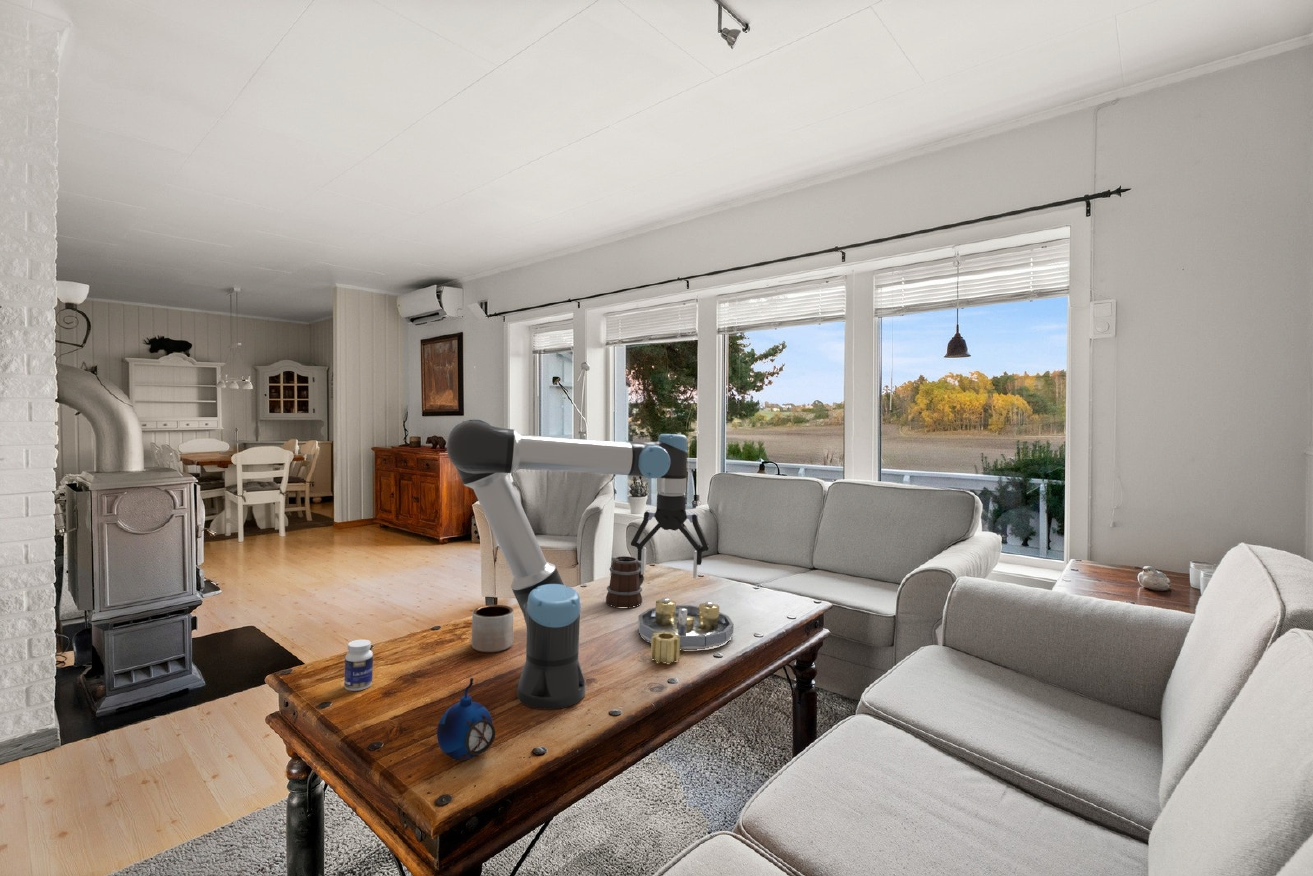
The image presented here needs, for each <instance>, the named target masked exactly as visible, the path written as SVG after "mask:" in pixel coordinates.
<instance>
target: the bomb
mask: <svg viewBox="0 0 1313 876" xmlns="http://www.w3.org/2000/svg"><path fill="white" fill-rule="evenodd" d="M469 680H470V681H469V684H468V686H466V687H465V690H464V695H462V696H461V697H460V698H459V701H458V702H457V703H455V704H453V705H452V706H450V707H449V708H448V709H447V710H446V711H444V713H443V715H442V716H441V717H440V720H439V722H438V724H437V728H436V729H437V730H436V739H437V742H438V746H439V748H440V750H441V751H442V752H443V754H445V755H446V756H447V757H449V758H452V759H453V760H457V761H458V760H459V761H465V760H466V761H467V760H469V759H473V758H475V757H477V756H479V755H481V754H483V753H485V752H486V751H487V750H488V749H489V748H490V747H491V746H492V744H493V743H494V741H495V739H496V732H497V731H496V729H495V726H494V723H493V718H492V715H491V713H490V712H489V710H488V709H487V708H486V706H484V705H483V704H482V703H479V702H478V701H473V700H472V699H473V698H472V696H471V695H468V693H469V689H471V687H472V686H473V682H474V678H473V677H470V678H469Z"/></svg>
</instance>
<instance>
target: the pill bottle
mask: <svg viewBox="0 0 1313 876" xmlns="http://www.w3.org/2000/svg"><path fill="white" fill-rule="evenodd" d="M371 645H372V642H371V641H370V640H368V639H355V640H352V641H350V642H348V644H347V651H348V652H347V653H346V655H345V657H344V681H343V682H344V688H345V690H347V691H349V692H357V691H362V690H363V691H364V690H365V689H368V688H370V687H371V686H372V685H373V673H374V672H373V670H374V669H373V668H374V666H373V664H374V652H373V651H372V649H371V647H372V646H371ZM370 649H371V650H370Z"/></svg>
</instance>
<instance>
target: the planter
mask: <svg viewBox="0 0 1313 876" xmlns="http://www.w3.org/2000/svg"><path fill="white" fill-rule="evenodd" d="M471 613H472V614H471V615H472V617H471V642H470V643H471V648H472V649H474V650H475V651H477V652H480V653H487V654H488V653H489V654H490V653H491V654H492V653H500V652H503V651H506V650H508V649H509V648H511V647H512V645H513V643H514V608H512V606H509V605H504V604H488V605H482V606H478V607H477V608H475V609H473V610H472V612H471Z"/></svg>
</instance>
